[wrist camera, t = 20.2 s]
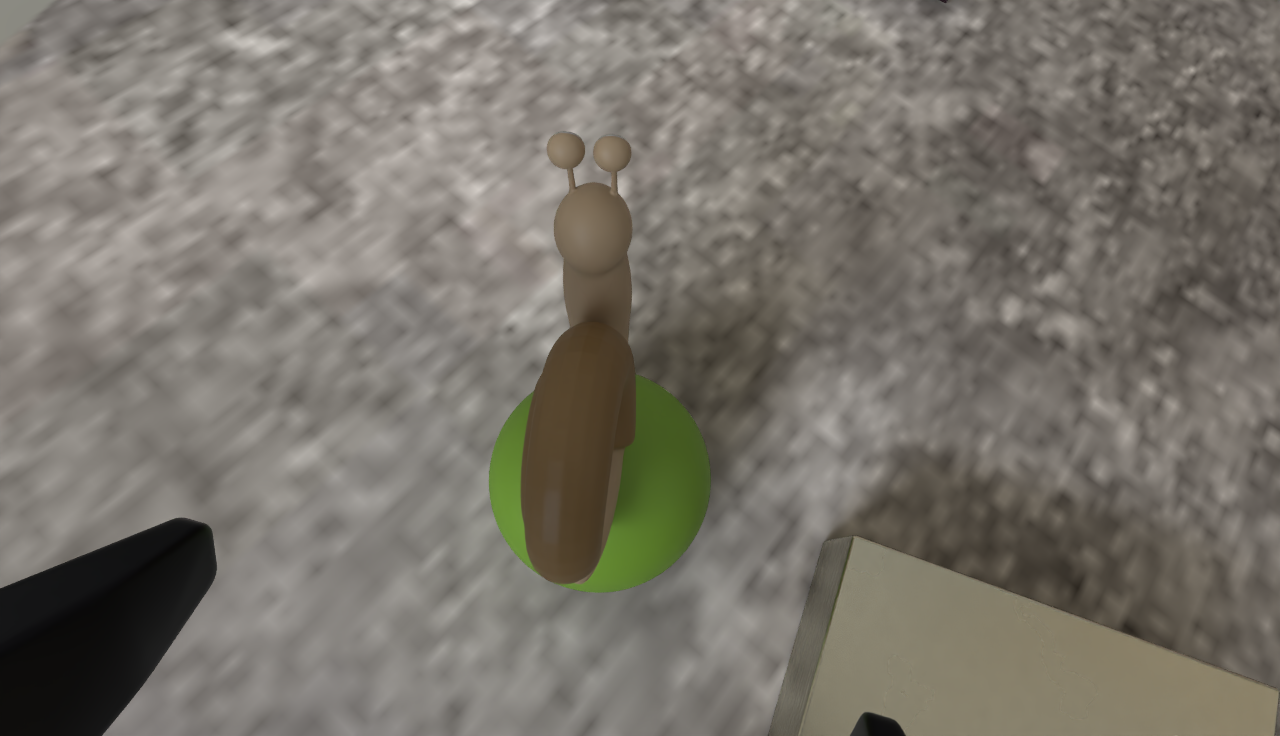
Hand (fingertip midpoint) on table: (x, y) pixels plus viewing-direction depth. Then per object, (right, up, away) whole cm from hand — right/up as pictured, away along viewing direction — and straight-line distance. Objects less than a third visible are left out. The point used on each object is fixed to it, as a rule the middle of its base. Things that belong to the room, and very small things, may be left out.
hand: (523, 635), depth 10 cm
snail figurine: (+1, 0, +11) cm, 11 cm away
